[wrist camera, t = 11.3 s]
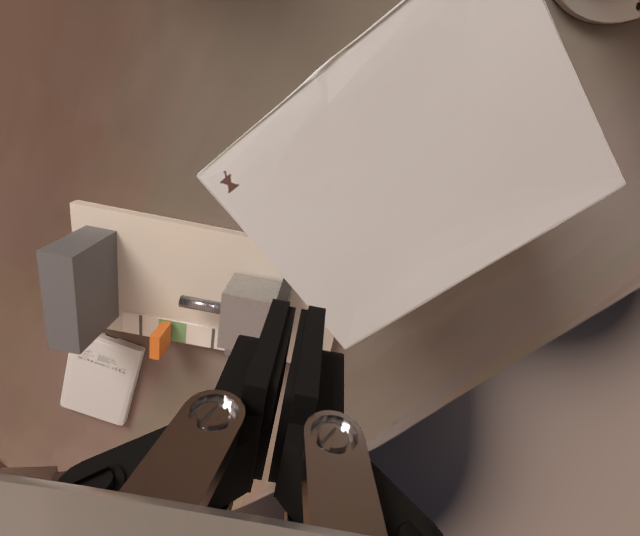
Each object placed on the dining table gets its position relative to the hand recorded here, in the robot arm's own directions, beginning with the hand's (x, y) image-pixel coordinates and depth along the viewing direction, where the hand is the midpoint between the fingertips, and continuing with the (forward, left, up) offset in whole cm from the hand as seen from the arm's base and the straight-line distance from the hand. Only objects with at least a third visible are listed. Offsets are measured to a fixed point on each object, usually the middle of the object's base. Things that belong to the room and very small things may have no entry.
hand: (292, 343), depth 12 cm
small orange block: (+14, +20, -25) cm, 35 cm away
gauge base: (+10, +14, -27) cm, 32 cm away
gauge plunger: (+7, +15, -26) cm, 31 cm away
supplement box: (-4, -4, -27) cm, 28 cm away
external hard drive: (+22, +29, -28) cm, 46 cm away
